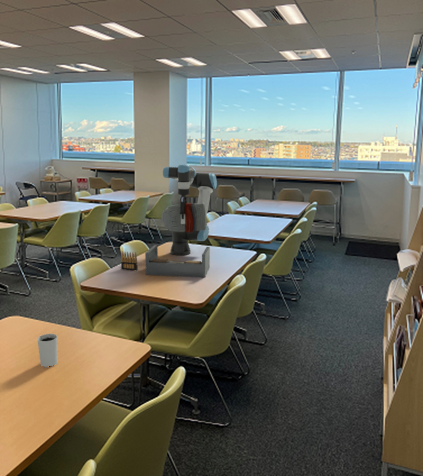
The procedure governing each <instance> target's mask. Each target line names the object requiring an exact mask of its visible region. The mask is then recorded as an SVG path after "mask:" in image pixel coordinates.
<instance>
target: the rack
mask: <svg viewBox="0 0 423 476" xmlns="http://www.w3.org/2000/svg"><path fill="white" fill-rule="evenodd" d="M210 249H211V246H206V247H205V249H204V251H203V253H202V254H201V264H193V263H186V261H187V260H186V261H184V260H168V263H167V262H152V260H153V259H159V256H158V255H159V253H158V251H159V250H158V244H154V245H153V246H151V247H150V248H149V249H148V250H147V251H146V252H145V256H144V257H145V276H161V277H163V276H165V277H186V278H187V277H191V278H193V277H194V278H206V276H207V274H208V272H209V270H210V264H211V261H210V260H211V255H210V254H211V253H210V251H211V250H210ZM169 262H184V263H169Z"/></svg>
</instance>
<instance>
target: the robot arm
mask: <svg viewBox="0 0 423 476" xmlns="http://www.w3.org/2000/svg"><path fill="white" fill-rule="evenodd" d="M162 176H163V178H166V179H173V180H175V181H177V189H178V190H177V193H178V195H181V197H180V202H179V204H180V214H181V224H185V204H186V203H188V196H187V195H190V190H191V189H190V188H194V189H198V191H199V193H198V198H197V203H205V209H206V218H207V216H208V210H209V205H210V204H209V203H210V200H211V194H212V193H213V192H214V190H216V189H217V186H218V181H217V176H216V174H215V173H213V172H212V173H210V172H206V173H205V172H197V170H196V169H195V168H194V167H192V166H190V165H189V164H179V165H177V167H176V166H175V167H174V166H164V167H163V170H162ZM209 230H210V227H209V225H208V223H207V222H206V230H200V231H193V232H185V231H184V232H173V231H171V232H172V245H171V247H170V254H171V255H174V256H188V255H190V254H191V251H192V250H191V248H190V247H191V246H190V244H189V241H192V242H193V241H197V242H204V241H206V240H207V238H208V237H209V233H210V231H209Z"/></svg>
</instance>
